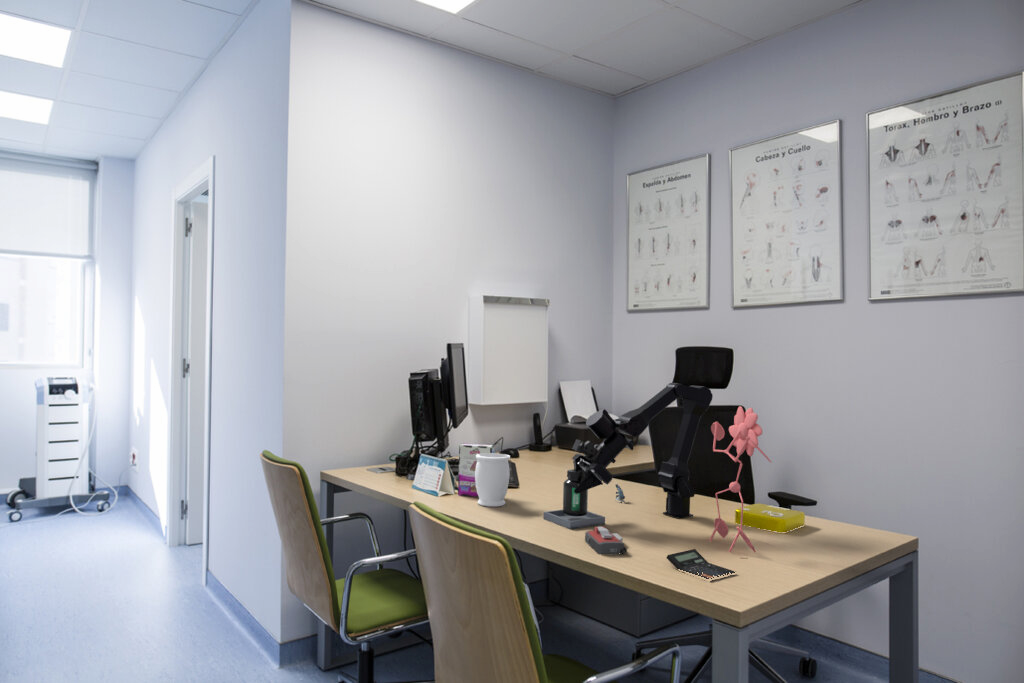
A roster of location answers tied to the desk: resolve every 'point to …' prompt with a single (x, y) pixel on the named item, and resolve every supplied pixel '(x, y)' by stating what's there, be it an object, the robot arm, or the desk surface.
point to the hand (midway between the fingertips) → (570, 489)
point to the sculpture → (620, 494)
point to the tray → (573, 519)
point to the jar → (492, 478)
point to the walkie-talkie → (605, 541)
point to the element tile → (770, 517)
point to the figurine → (743, 439)
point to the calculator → (696, 564)
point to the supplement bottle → (574, 495)
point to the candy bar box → (470, 467)
